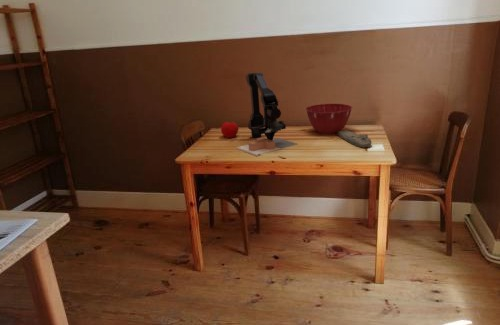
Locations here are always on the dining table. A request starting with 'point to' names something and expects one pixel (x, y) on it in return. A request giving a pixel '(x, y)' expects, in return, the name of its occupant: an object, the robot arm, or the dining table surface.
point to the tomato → (229, 129)
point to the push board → (278, 145)
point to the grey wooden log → (355, 138)
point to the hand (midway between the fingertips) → (270, 143)
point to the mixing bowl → (328, 117)
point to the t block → (261, 144)
